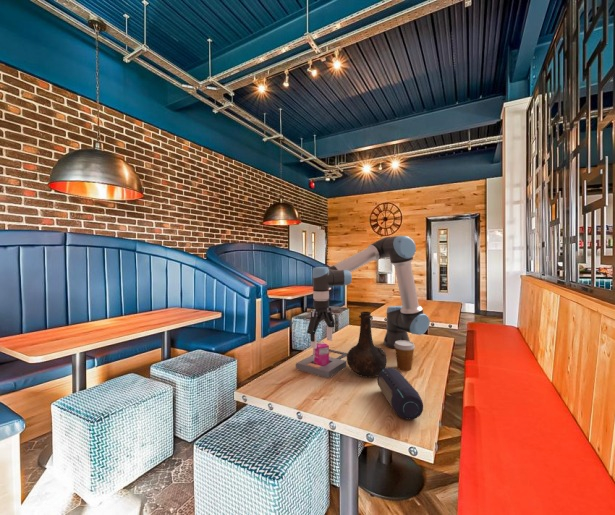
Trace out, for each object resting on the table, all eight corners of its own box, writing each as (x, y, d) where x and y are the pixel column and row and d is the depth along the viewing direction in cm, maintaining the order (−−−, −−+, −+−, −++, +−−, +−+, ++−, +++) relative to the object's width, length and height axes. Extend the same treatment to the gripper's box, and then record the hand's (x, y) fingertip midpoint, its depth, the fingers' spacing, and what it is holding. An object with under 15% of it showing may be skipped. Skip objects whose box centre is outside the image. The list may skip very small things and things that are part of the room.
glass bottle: (382, 384, 124) (382, 317, 124) (341, 377, 132) (341, 314, 131) (389, 369, 140) (389, 310, 140) (352, 363, 148) (352, 307, 147)
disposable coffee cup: (396, 362, 148) (396, 338, 148) (416, 366, 143) (416, 341, 143) (391, 369, 140) (391, 344, 140) (412, 373, 135) (412, 347, 135)
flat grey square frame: (348, 354, 161) (348, 353, 161) (334, 362, 149) (334, 361, 149) (325, 349, 170) (325, 348, 170) (310, 356, 158) (310, 355, 158)
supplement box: (312, 367, 143) (312, 343, 143) (323, 365, 146) (323, 341, 146) (318, 371, 138) (318, 347, 138) (329, 369, 141) (329, 345, 141)
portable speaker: (374, 388, 121) (374, 364, 121) (398, 388, 121) (398, 363, 121) (396, 425, 96) (396, 394, 95) (426, 423, 96) (426, 393, 96)
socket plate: (346, 367, 143) (346, 360, 143) (328, 378, 130) (328, 371, 130) (315, 359, 154) (315, 352, 154) (296, 369, 141) (296, 362, 141)
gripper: (328, 295, 154) (329, 336, 154) (298, 303, 134) (299, 350, 134) (341, 296, 149) (341, 338, 150) (312, 304, 129) (313, 353, 130)
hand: (321, 344), depth 142 cm, fingers open, 13 cm apart
